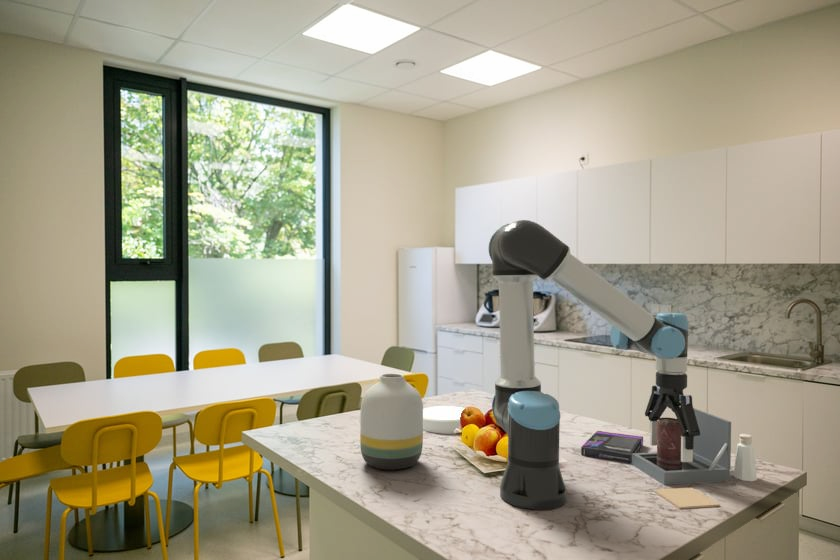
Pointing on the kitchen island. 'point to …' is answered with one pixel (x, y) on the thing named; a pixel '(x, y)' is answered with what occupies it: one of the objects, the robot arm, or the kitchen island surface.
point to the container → (441, 419)
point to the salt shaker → (745, 460)
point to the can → (669, 444)
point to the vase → (391, 424)
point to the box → (612, 446)
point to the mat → (686, 498)
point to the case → (696, 455)
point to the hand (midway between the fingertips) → (670, 453)
